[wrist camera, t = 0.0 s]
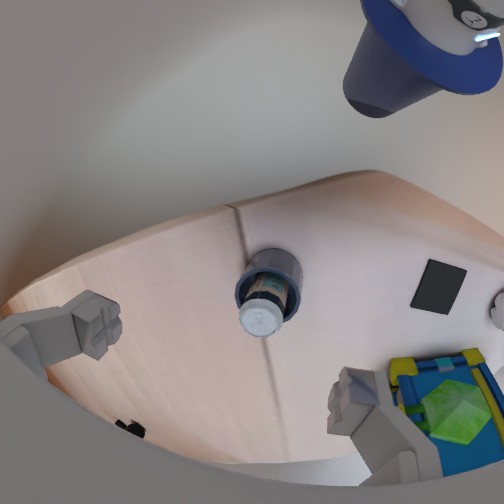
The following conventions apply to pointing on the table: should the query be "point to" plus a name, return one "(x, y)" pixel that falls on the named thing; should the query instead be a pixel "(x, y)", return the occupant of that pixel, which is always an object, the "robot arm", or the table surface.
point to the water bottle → (498, 312)
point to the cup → (274, 263)
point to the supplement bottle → (264, 304)
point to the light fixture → (132, 428)
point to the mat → (438, 287)
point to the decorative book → (453, 407)
